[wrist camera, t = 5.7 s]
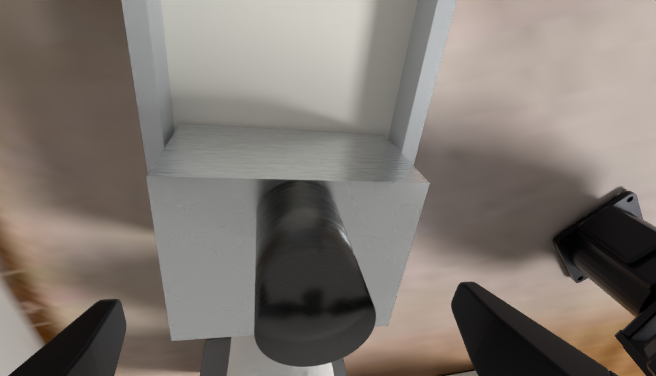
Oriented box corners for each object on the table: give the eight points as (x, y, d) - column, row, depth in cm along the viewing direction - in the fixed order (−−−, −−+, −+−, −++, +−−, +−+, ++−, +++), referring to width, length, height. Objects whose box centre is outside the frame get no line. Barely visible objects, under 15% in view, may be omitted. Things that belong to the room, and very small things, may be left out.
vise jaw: (181, 122, 15) (68, 292, 6) (384, 134, 18) (516, 274, 8) (193, 257, 19) (133, 484, 10) (359, 253, 21) (433, 439, 12)
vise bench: (108, -247, 11) (-153, -681, 4) (463, -154, 14) (673, -315, 7) (188, 374, 26) (162, 507, 19) (347, 360, 29) (374, 471, 22)
